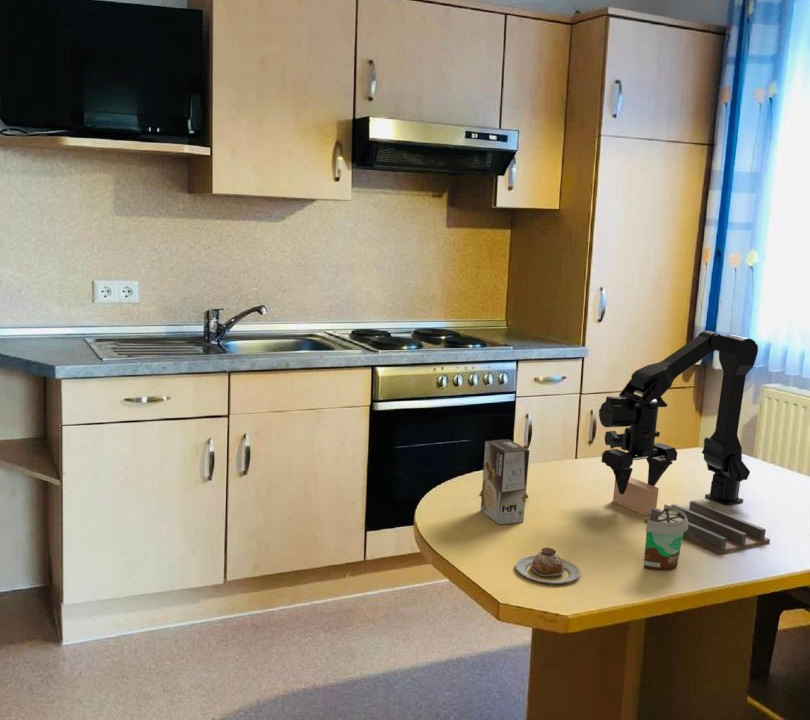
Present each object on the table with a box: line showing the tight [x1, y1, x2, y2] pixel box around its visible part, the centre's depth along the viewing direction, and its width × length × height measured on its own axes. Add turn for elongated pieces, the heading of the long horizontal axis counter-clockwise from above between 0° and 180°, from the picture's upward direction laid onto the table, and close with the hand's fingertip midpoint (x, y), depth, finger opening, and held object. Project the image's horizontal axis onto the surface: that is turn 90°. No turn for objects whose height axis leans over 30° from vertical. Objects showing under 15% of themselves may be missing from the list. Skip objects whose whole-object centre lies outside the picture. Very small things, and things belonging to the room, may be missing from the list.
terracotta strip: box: [612, 476, 660, 516], centre depth 202 cm, size 4×10×6 cm, turn 31°
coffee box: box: [480, 439, 530, 525], centre depth 190 cm, size 9×6×16 cm
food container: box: [643, 504, 688, 572], centre depth 170 cm, size 12×6×10 cm, turn 148°
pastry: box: [514, 547, 581, 586], centre depth 163 cm, size 12×12×5 cm
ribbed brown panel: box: [644, 500, 771, 556], centre depth 189 cm, size 16×20×3 cm
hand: (636, 491), depth 202 cm, fingers open, 9 cm apart
